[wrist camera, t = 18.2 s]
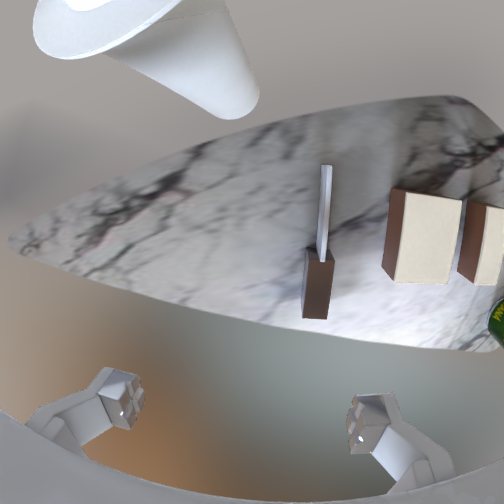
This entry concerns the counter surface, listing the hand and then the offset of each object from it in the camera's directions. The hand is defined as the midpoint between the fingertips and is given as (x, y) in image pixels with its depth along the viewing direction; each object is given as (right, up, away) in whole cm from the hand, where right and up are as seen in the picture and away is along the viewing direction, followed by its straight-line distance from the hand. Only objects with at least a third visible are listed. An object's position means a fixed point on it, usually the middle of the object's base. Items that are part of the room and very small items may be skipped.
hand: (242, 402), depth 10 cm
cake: (+16, +8, +15) cm, 23 cm away
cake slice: (+23, +7, +14) cm, 28 cm away
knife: (+6, +7, +16) cm, 19 cm away
